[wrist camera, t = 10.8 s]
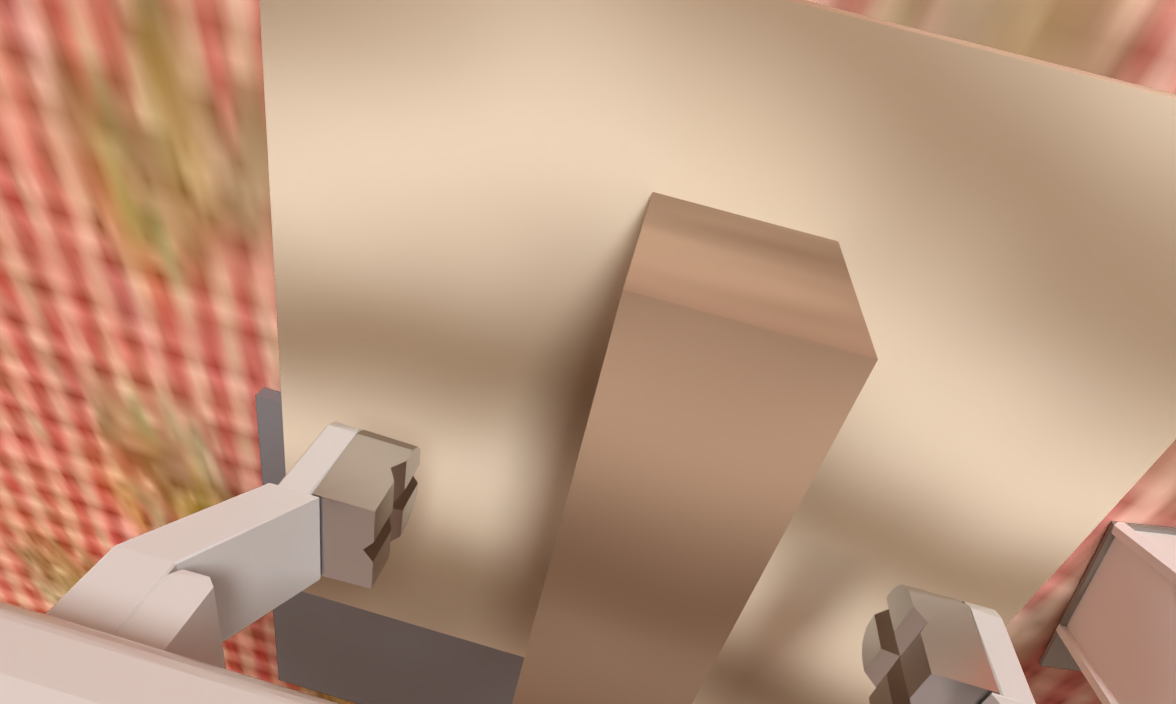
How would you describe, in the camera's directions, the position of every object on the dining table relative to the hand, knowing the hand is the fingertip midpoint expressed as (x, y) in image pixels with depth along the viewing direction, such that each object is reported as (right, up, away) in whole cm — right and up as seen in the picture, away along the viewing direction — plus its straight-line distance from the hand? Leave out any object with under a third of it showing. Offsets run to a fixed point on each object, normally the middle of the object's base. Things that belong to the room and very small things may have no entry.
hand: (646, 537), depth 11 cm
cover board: (+1, +2, +3) cm, 3 cm away
